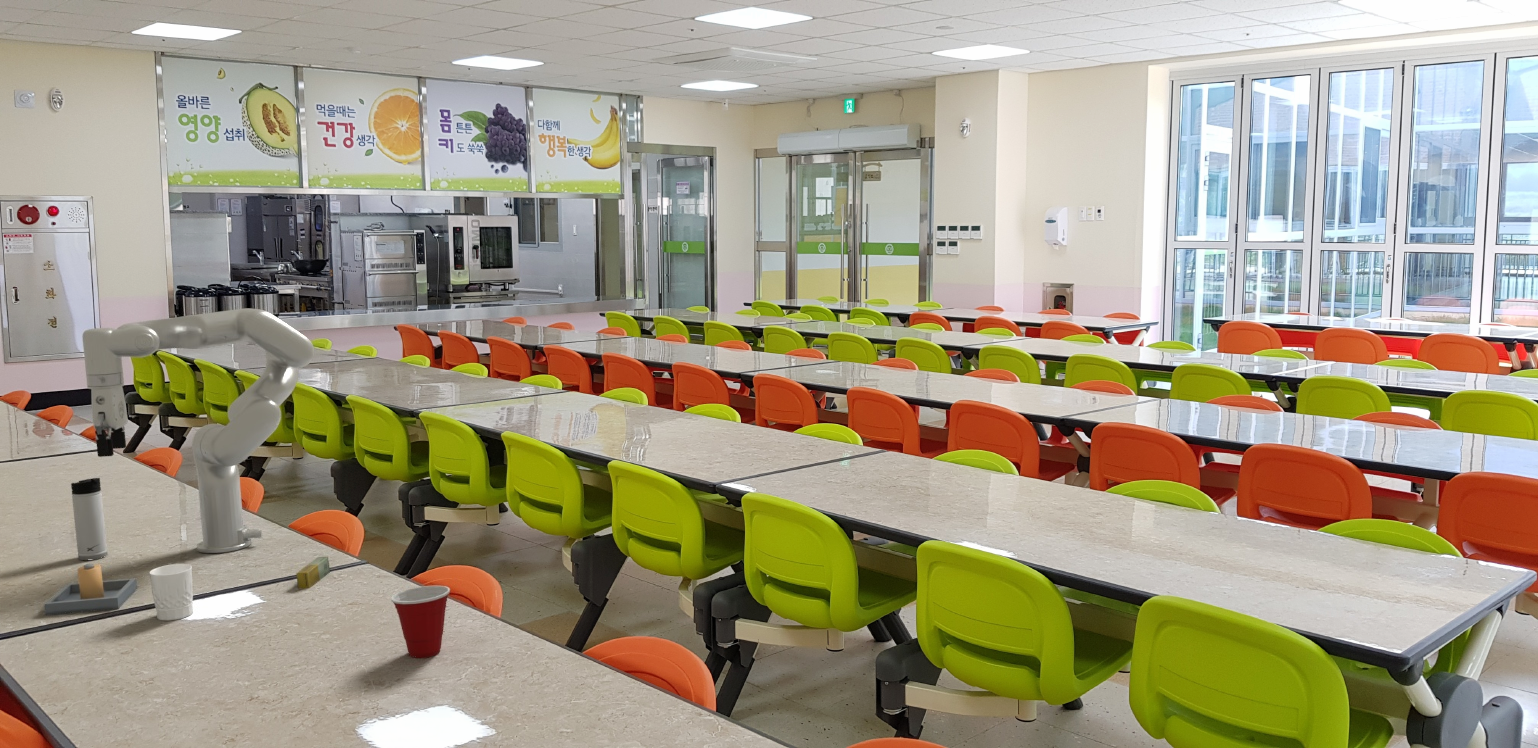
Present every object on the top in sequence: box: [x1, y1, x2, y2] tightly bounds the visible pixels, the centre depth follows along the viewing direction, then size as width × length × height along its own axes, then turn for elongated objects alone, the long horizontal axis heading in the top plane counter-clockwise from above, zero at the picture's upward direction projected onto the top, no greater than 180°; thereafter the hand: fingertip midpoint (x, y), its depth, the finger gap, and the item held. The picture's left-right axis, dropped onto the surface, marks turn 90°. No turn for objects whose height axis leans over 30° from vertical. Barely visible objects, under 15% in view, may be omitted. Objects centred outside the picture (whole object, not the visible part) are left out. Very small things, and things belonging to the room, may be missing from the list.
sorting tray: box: [43, 577, 138, 616], centre depth 250 cm, size 14×14×2 cm
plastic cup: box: [390, 585, 451, 659], centre depth 216 cm, size 11×11×12 cm
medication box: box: [295, 556, 331, 590], centre depth 262 cm, size 12×3×4 cm, turn 179°
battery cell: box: [77, 563, 104, 599], centre depth 250 cm, size 4×4×8 cm
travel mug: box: [70, 477, 108, 561], centre depth 283 cm, size 6×7×20 cm
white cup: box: [149, 563, 194, 621], centre depth 240 cm, size 8×8×10 cm
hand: (112, 452), depth 271 cm, fingers open, 9 cm apart
